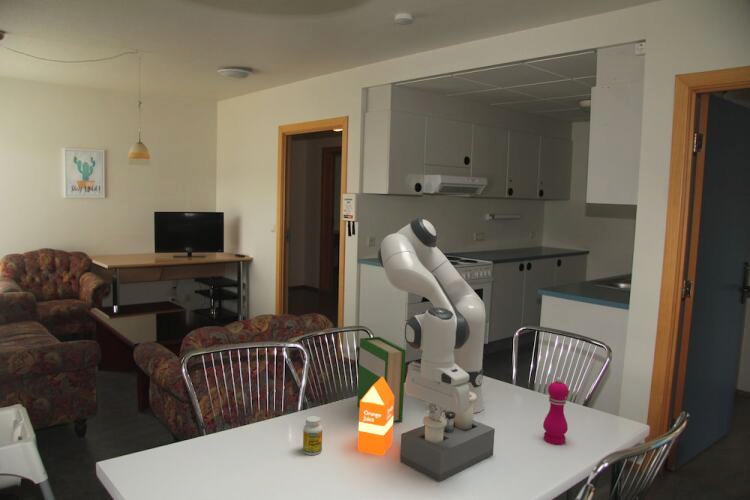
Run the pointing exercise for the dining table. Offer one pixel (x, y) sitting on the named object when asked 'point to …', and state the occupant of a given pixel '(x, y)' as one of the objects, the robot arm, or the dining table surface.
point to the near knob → (434, 429)
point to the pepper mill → (556, 413)
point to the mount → (447, 450)
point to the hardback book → (382, 370)
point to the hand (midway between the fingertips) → (434, 418)
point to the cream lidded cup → (466, 416)
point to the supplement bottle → (312, 436)
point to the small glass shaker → (449, 421)
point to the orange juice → (376, 419)
